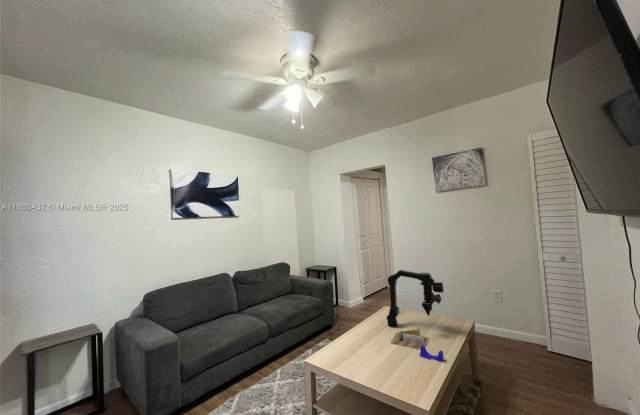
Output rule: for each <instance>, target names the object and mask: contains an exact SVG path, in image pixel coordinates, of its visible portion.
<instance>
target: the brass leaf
mask: <svg viewBox="0 0 640 415" xmlns="http://www.w3.org/2000/svg"><path fill="white" fill-rule="evenodd" d="M401 331H402V332H403V333H405V334H411V335H417V336H421V330H420V328H412V329H407V330H401Z"/></svg>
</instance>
